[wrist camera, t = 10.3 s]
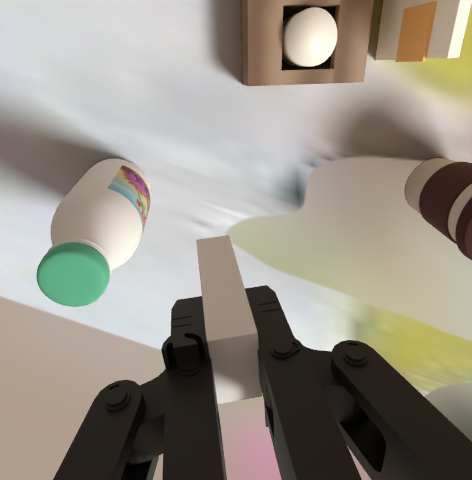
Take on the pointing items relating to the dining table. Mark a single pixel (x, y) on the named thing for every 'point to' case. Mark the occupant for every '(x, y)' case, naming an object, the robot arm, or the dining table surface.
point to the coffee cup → (444, 198)
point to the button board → (270, 43)
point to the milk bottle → (94, 232)
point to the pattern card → (421, 29)
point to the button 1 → (308, 37)
